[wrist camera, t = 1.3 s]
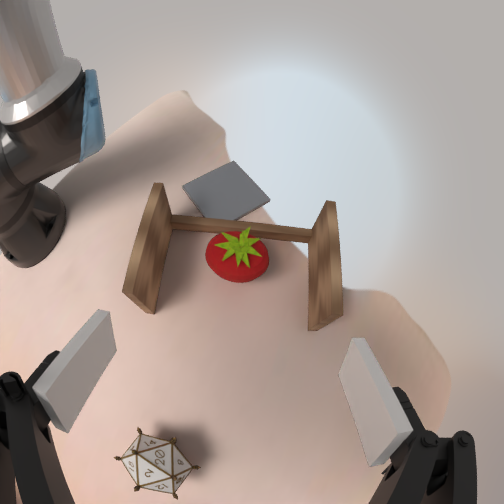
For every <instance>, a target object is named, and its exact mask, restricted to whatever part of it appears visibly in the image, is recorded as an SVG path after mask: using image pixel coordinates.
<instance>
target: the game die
mask: <svg viewBox="0 0 504 504" xmlns="http://www.w3.org/2000/svg"><path fill="white" fill-rule="evenodd" d="M137 431H138V433H139V434H140V435H139V436H138V437H137V438H136V440H135V441H134V442H133V443H132V445H131V446H130V447H129V448H128V450H127V451H126V452H125V454H124V455H123V456H122V457H121V458H120V457H117V456H116V457H114V458H115V459H116V460H121V461H122V462H123V464H124V466H125V467H126V469H127V471H128V472H129V474H130V475H131V477H132V478H133V480H134V481H135V483H136V484H137V486H135V487H134V492H135V491H139V489H140V488H145V489H149V490H154V491H159V492H165V493H171V494H173V497H174V498H176V499H178V496H177V494H175V492H176V491H177V489H178V488H179V487H180V485H181V484H182V483H183V481H184V480H185V479H186V477H187V476H188V474H189V473H190V472H191V470H192V469H193V468H194V469H199V468H201V467H199V466H192V465H191V464H190V462H189V461H188V460H187V459H186V458H185V457H184V455H183V454H182V453H181V452H180V450H179V449H178V448H177V447H176V445H175V443H176V437H174V438H172V439H171V441H168V440H164V439H160V438H156V437H152V436H149V435H145V434H142V431H141V429H140V428H137Z"/></svg>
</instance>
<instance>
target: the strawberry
mask: <svg viewBox="0 0 504 504" xmlns="http://www.w3.org/2000/svg"><path fill="white" fill-rule="evenodd" d="M250 227H251V226H250ZM250 227H249V228H247V229H246V230H245V231H242V232H240V231H228V232H222V233H220V234H218V235H216V236H215V237H213V238H212V239H211V240H210V242H209V244H208V246H207V249H206V253H205V256H206V261H207V263H208V265H209V266H210V268H211V269H212V270H213V271H214V272H215V273H216V274H217V275H219V276H220V277H221V278H223V279H225V280H228V281H231V282H237V283H244V282H249V281H252V280H254V279H256V278H257V277H259V276H261V275H262V274H263V273H264V272H265V271H266V269H267V268H268V265H269V256H268V251H267V249H266V247H265V245H264V244H263V243H262V242H261V241H260V240H259V239H261V238H256V237H255V236H253V235H250V234H249V230H250Z"/></svg>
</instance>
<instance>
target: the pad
mask: <svg viewBox="0 0 504 504" xmlns="http://www.w3.org/2000/svg"><path fill="white" fill-rule="evenodd" d="M182 188H183V190H184V191H185V192H186V194H187V195H188V196H189V198H190V199H191V200H192V202H193V203H194V204H195V206H196V207H197V208H198V210H199V211H200V212H201V214H202V215H203V216H204V217H205V218H215V219H225V220H235V221H236V220H238V219H240V218H241V217H243V216H245V215H247V214H249V213H250V212H252V211H254V210H256V209H257V208H259V207H261V206H263V205H265V204H266V203H268V202H270V199H269V197H268V196H267V195H266V194H265V193H264V192H263V191H262V190H261V189H260V188H259V187H258V186H257V185H256V183H255V182H254V181H253V180H252V179H251V178H250V177H249V176H248V175H247V174H246V173H245V172H244V171H243V170H242V169H241V168H240V167H239V166H238V165H237V164H236V163H235V162H234V161H232V162H230V163H228V164H226V165H224V166H221V167H219V168H217V169H215V170H213V171H211V172H209V173H207V174H205V175H203V176H201V177H199V178H197V179H195V180H193V181H191V182H189V183H187V184H185V185H183V186H182Z"/></svg>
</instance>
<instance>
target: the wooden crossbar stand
mask: <svg viewBox="0 0 504 504" xmlns="http://www.w3.org/2000/svg"><path fill="white" fill-rule="evenodd" d="M250 226H251V227H250ZM249 227H250V230H249V234H250V235H253V236H255V237H257V238H266V239H275V240H284V241H293V242H302V243H308V258H309V304H308V330H310V331H317V330H319V329H321V328H322V327H324V326H326V325H328V324H329V323H331V322H333V321H334V320H336V319H338V318H339V317H341V316H343V293H342V272H341V256H340V242H339V231H338V221H337V211H336V202H333V201H326V202H325V204H324V206H323V208H322V210H321V212H320V214H319V216H318V218H317V220H316V222H315V224H314V226H313V228H312V229H305V228H296V227H289V226H280V225H272V224H263V223H254V222H244V221H235V220H225V219H215V218H205V217H194V216H183V215H172V213H171V210H170V206H169V203H168V199H167V196H166V192H165V188H164V185H163V183H154V184H153V187H152V190H151V193H150V196H149V198H148V201H147V204H146V207H145V210H144V213H143V216H142V220H141V223H140V226H139V229H138V233H137V236H136V239H135V243H134V246H133V250H132V254H131V257H130V261H129V265H128V269H127V273H126V277H125V281H124V285H123V289H122V292H123V293H124V294H125V295H126V296H127V297H128V298H129V299H131V300H132V301H133V302H134V303H135V304H136V305H137V306H139V307H140V308H141V309H142V310H143V311H144V312H146V313H150V314H155V308H156V303H157V297H158V292H159V287H160V282H161V277H162V272H163V268H164V263H165V258H166V254H167V250H168V245H169V241H170V237H171V233H172V229H179V230H189V231H199V232H209V233H219V234H220V233H222V232H228V231H240V232H242V231H245V230H246V229H247V228H249Z"/></svg>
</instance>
